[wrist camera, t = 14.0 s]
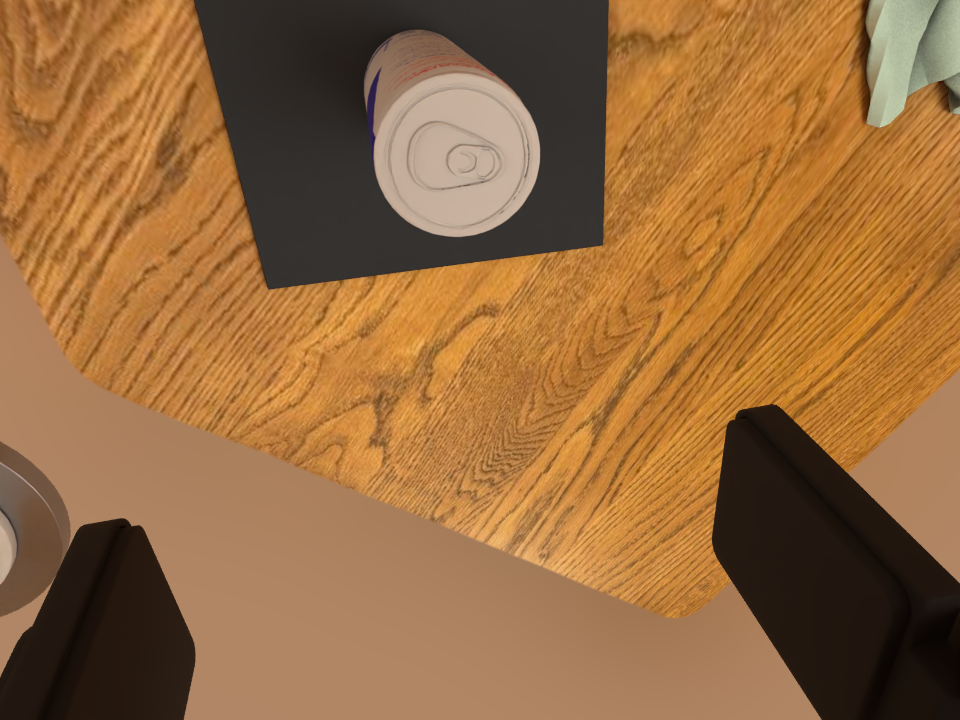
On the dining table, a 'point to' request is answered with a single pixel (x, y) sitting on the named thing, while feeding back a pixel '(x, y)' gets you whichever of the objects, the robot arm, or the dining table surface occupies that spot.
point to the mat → (345, 135)
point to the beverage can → (447, 136)
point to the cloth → (911, 53)
